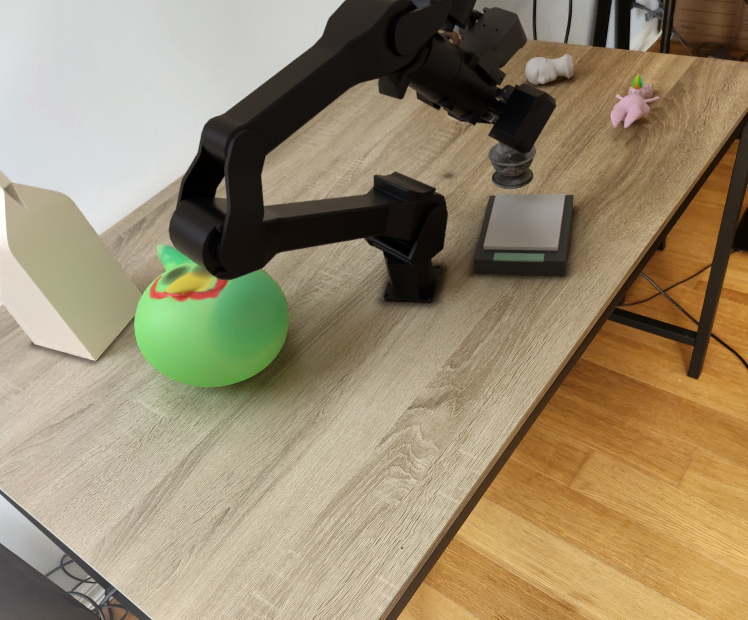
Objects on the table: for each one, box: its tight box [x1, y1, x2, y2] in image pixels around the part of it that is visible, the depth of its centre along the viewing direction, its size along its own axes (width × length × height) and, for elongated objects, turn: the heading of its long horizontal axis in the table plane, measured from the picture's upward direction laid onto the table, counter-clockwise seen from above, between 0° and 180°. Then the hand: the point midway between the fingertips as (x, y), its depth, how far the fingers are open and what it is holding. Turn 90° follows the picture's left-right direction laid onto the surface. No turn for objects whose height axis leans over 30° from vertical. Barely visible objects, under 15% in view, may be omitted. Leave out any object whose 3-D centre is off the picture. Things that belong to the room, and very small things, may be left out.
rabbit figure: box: [610, 73, 660, 129], centre depth 95 cm, size 6×6×15 cm
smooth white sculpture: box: [524, 53, 575, 86], centre depth 107 cm, size 4×8×5 cm
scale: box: [473, 193, 575, 277], centre depth 83 cm, size 13×11×3 cm
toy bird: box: [133, 243, 290, 388], centre depth 76 cm, size 18×17×15 cm
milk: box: [0, 169, 143, 362], centre depth 82 cm, size 12×12×26 cm
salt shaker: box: [487, 97, 537, 190], centre depth 79 cm, size 6×6×12 cm
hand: (520, 125), depth 79 cm, fingers closed on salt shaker, 3 cm apart
